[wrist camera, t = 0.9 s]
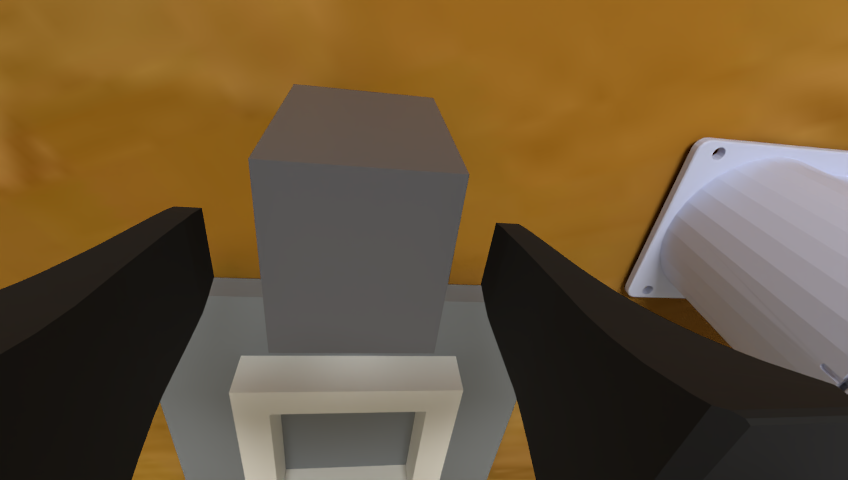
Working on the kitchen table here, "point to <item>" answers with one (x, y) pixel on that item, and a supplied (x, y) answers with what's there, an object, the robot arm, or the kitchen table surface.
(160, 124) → the kitchen table surface
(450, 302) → the socket
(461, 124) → the kitchen table surface
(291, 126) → the plug
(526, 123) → the kitchen table surface
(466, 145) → the kitchen table surface
